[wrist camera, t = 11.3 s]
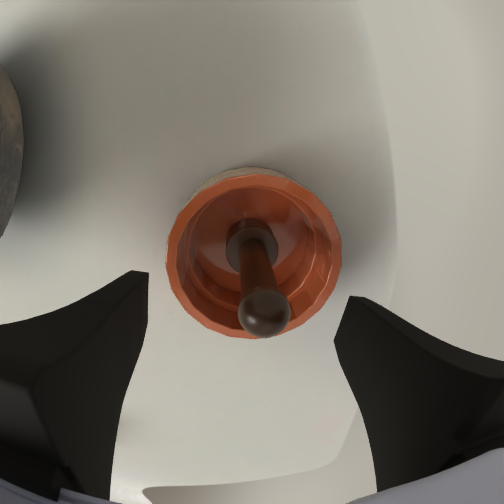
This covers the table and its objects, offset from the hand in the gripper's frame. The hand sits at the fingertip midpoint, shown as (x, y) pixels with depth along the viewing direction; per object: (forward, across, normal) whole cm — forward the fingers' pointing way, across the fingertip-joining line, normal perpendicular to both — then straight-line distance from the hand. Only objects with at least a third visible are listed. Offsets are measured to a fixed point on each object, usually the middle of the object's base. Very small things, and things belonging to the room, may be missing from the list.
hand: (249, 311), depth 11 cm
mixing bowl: (+10, -1, +1) cm, 10 cm away
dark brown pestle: (+9, -1, +1) cm, 9 cm away
